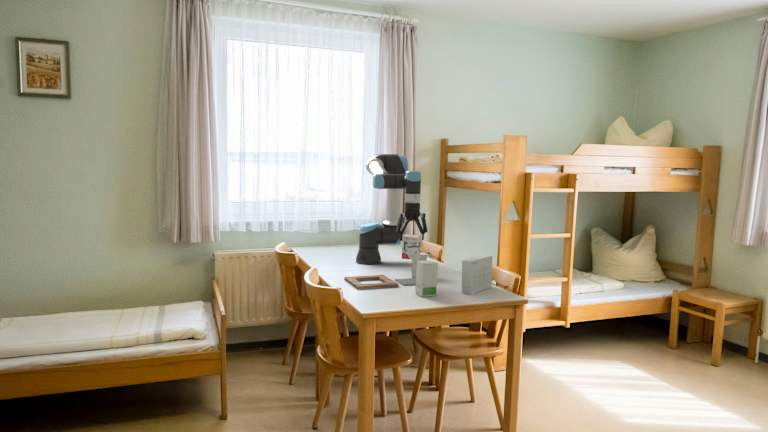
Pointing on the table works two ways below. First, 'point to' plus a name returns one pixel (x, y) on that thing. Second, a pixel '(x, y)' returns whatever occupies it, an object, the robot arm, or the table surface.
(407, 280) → the mat
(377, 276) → the board
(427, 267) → the skincare box
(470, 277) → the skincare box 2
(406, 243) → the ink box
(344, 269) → the table surface
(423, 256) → the supplement box
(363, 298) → the table surface
